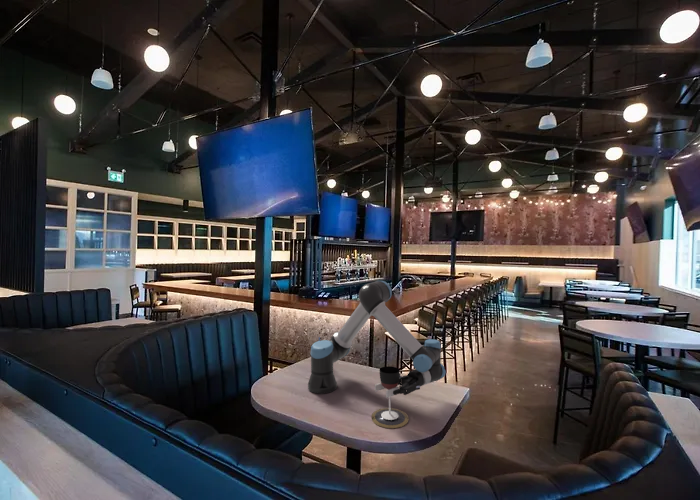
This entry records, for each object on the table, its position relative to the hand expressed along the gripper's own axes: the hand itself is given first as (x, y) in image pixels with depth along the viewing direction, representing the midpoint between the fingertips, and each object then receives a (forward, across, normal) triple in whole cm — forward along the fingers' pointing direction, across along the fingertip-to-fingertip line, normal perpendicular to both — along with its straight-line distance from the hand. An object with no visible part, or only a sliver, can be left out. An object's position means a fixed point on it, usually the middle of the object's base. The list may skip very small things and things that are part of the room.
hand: (380, 391), depth 146 cm
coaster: (-5, 0, -13) cm, 14 cm away
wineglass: (-5, 0, -12) cm, 13 cm away
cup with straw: (-11, +70, -14) cm, 73 cm away
